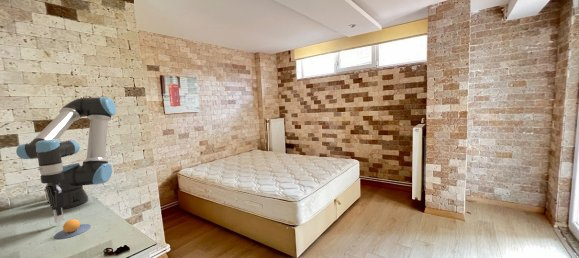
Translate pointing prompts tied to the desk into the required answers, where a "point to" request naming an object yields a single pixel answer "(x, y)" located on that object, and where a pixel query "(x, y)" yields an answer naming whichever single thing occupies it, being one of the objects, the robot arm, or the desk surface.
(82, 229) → the disc
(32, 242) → the desk surface
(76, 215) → the desk surface
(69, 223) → the ball
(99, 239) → the desk surface
